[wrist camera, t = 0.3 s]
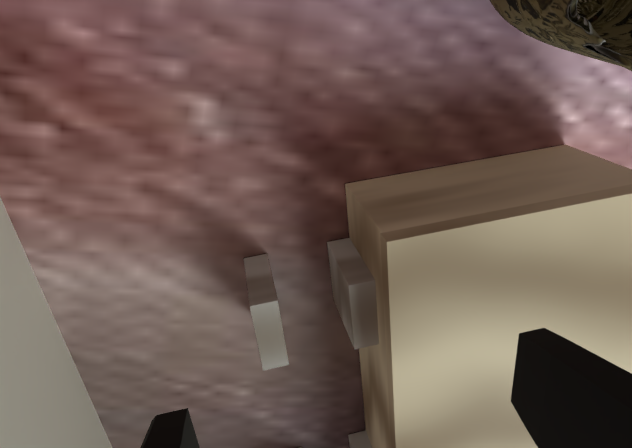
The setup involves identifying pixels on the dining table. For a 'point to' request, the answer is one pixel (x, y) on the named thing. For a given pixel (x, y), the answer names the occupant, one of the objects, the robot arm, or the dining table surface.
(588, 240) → the cabinet
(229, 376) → the dining table surface
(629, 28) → the cup
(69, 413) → the door
